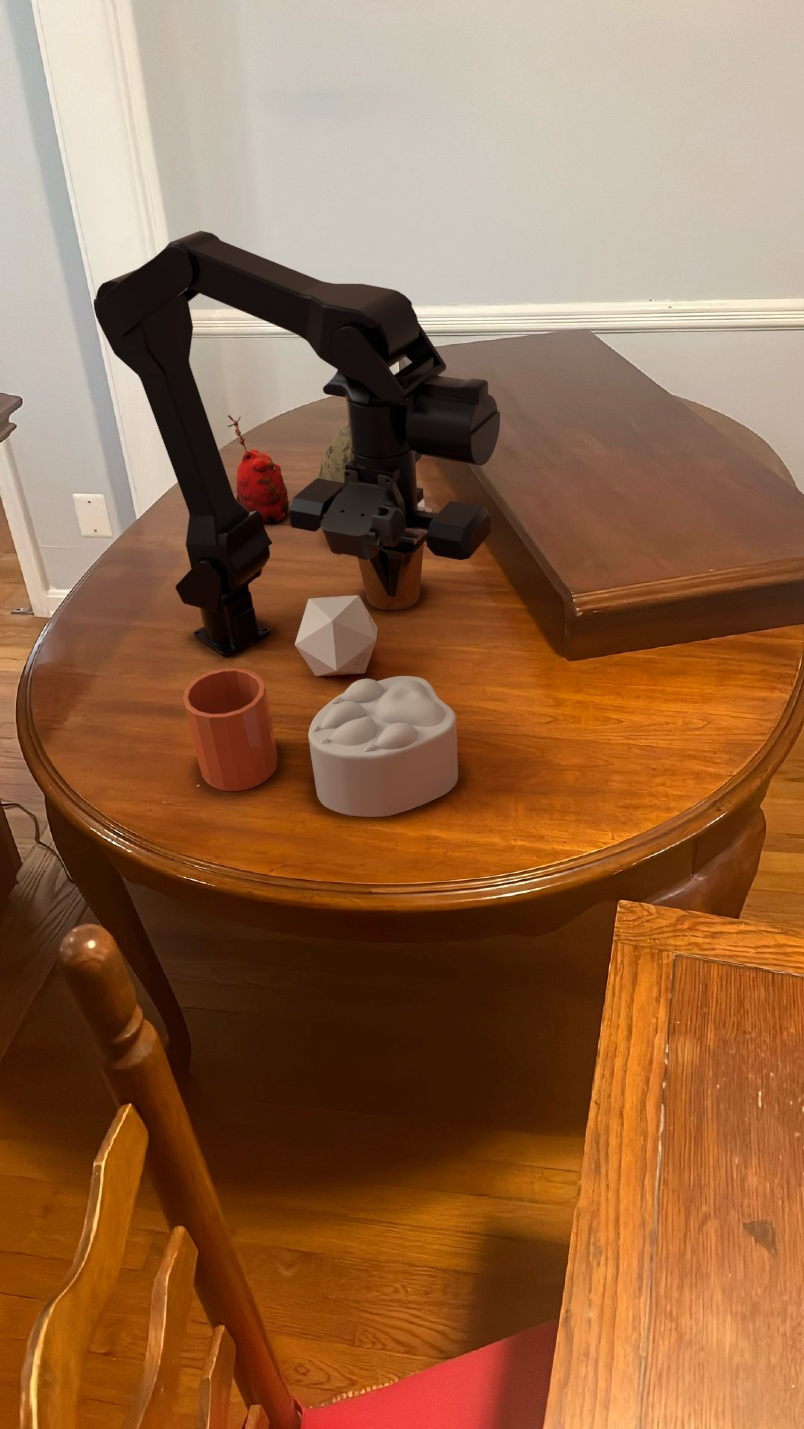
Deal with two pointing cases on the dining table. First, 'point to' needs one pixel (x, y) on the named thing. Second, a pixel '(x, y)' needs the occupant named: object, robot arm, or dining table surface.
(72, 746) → the dining table surface
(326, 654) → the die
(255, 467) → the red bumpy tall lump
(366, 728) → the lumpy-topped squat cylinder
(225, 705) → the terracotta cup
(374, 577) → the disposable coffee cup
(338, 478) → the decorative egg
